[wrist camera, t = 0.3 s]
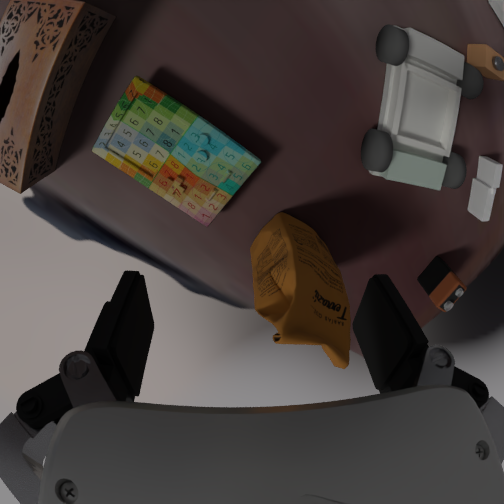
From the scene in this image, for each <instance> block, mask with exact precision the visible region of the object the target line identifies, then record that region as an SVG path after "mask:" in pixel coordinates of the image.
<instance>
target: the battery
mask: <svg viewBox="0 0 504 504" xmlns="http://www.w3.org/2000/svg"><path fill="white" fill-rule="evenodd" d="M417 280H418V282H419V283H420V284H421V286H422V287H423V288H424V290H425V291H426V293H427V294H428V295H429V297H430V298H431V300H432V301H433V303H434V304H435V305H436V307H437V308H439V309H441V310H442V311H444V312H446V311H448V310H450V309H451V308H452V307H453V305H454V303H455V302H456V301H457V299H458V298H459V297H460V296H462V294H463V292H465V290H466V286H465V285H464V284H463V283H462V281H461V280H460V279H459V278H458V277H457V276H456V274H455V273H454V272H453V271H452V270H451V269H450V267H449V266H448V265H447V264H446V263H445V262H444V261H443V260H442V259H441V258H439V257H438V256H436V257H435V258H434V260H433V261H432V262H431V263H430V264H429V266H428V267H427V268H426V269H425V270H424V271H423V273H422V274H421V275H420V276H419V277H418V279H417Z"/></svg>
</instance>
